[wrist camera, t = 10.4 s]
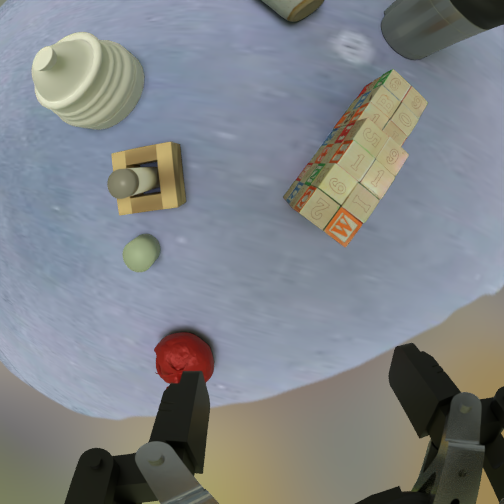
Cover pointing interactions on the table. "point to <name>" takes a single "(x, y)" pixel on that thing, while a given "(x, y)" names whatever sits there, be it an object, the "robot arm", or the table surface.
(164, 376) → the pomegranate
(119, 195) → the cream capped cylinder
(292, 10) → the ceramic mug
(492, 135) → the table surface
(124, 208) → the bead block
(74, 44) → the honey pot
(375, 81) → the stack of blocks
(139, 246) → the bead
